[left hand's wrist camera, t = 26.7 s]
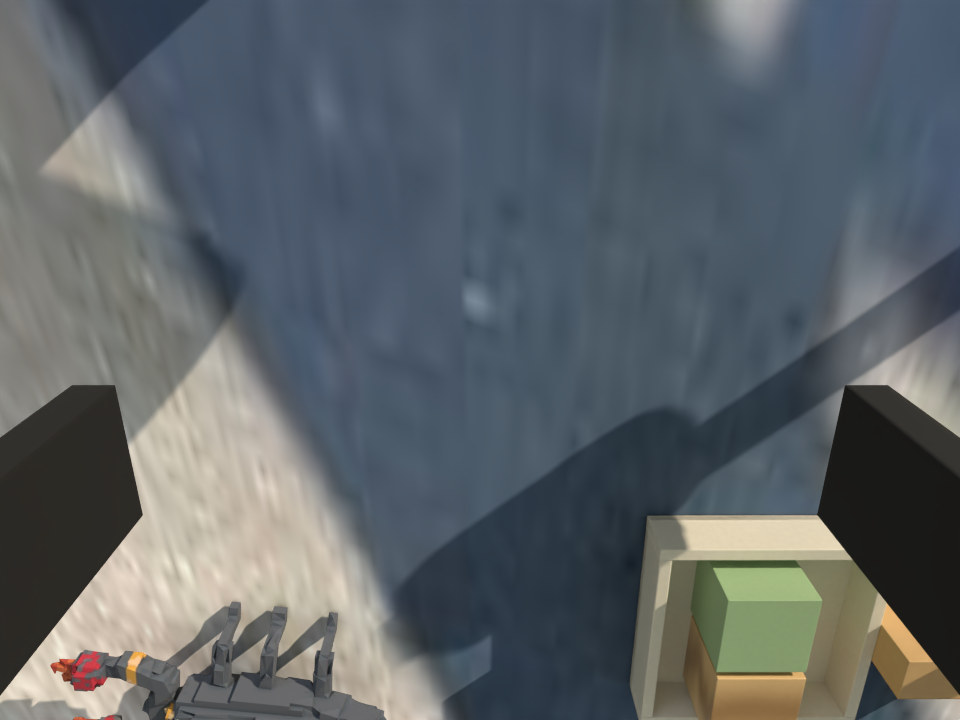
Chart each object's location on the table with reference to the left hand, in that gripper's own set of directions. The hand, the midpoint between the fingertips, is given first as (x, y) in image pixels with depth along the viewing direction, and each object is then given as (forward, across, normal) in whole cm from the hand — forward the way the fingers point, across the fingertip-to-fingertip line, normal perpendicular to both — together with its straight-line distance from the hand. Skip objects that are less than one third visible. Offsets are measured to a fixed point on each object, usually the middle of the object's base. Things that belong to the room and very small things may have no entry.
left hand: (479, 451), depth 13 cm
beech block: (+26, +17, -30) cm, 43 cm away
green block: (+26, +17, -24) cm, 39 cm away
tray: (+27, +25, -27) cm, 46 cm away
